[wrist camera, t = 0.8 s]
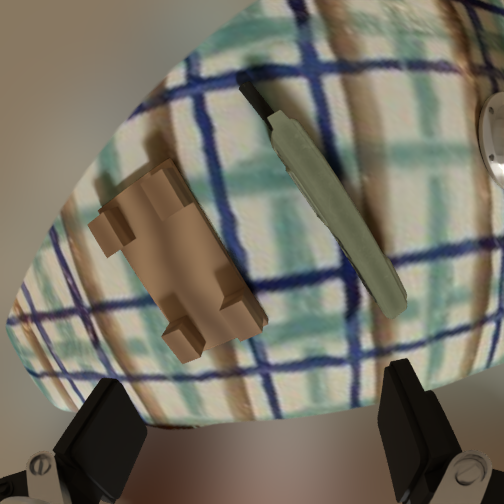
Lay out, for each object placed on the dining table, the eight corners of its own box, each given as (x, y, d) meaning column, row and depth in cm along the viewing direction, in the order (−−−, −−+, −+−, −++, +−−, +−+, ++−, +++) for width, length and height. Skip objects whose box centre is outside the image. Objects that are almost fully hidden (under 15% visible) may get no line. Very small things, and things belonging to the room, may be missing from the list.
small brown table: (171, 158, 28) (156, 159, 25) (268, 319, 33) (267, 339, 29) (102, 208, 31) (82, 216, 27) (195, 349, 35) (187, 370, 31)
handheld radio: (365, 294, 32) (229, 97, 26) (389, 278, 31) (257, 78, 26) (385, 324, 25) (219, 79, 20) (414, 304, 25) (255, 56, 19)
